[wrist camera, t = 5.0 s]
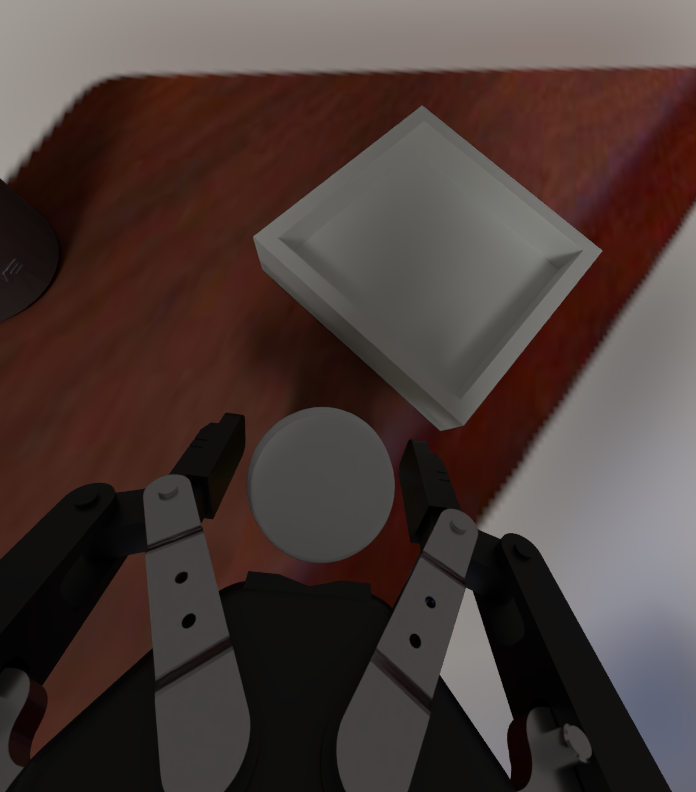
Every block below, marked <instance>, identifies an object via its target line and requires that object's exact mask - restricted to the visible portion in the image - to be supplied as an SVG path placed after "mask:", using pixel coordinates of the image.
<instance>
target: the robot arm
mask: <svg viewBox="0 0 696 792" xmlns="http://www.w3.org/2000/svg"><path fill="white" fill-rule="evenodd" d="M58 259H59V246H58V242H57V238H56V235H55V232H54V231H53V229H52V228H51V226H50V224H49V223H48V221H47V220H46V219H45V218H43V217H42V216H41V215H40V214H39V213H38V212H37V211H36V210H35V209H34V208H33V207H31V206H30V205H29V204H28V203H27V202H26V201H25V200H24V199H23V198H21V197H20V196H19V195H18V194H17V193H16V192H15V191H14V190H13V189H11V188H10V187H9V186H8V185H7V184H6V183H5V182H4V181H2V180H1V179H0V321H3V320H6V319H8V318H10V317H12V316H13V315H15V314H17V313H19V312H20V311H22V310H24V309H25V308H26V307H28V306H29V305H30V304H31V303H32V302H34V301H35V300H36V299H37V298H38V297H39V296H40V295H41V294H42V292H43V291H44V290H45V289H46V288H47V286H48V285H49V283H50V281H51V279H52V277H53V275H54V274H55V271H56V267H57V263H58ZM244 449H245V417H244V415H239V414H232V413H225V414H224V416H223V417H222V419H221V420H220V422H219V423H210V424H208V425H207V426H205V427H204V428H202V429H201V430H200V431H199V433H198V434H197V436H196V437H195V440H193V441H192V443H191V444H190V447H188V448H187V450H186V451H185V453H184V454H183V455H182V457H181V458H180V460H179V461H178V462H177V464H176V465H175V467H174V468H173V470H172V471H171V472H170V474H169V475H167V476H163V477H161V478H158V479H156V480H155V481H153V482H152V483H151V484H150V485H149V486H148V487H147V488H145V489H141V490H134V491H126V492H119V493H115V490H114V488H113V487H112V486H111V485H109V484H106V483H92V484H88V485H84V486H82V487H79V488H77V489H75V490H73V491H72V492H70V493H69V494H67V495H66V496H65V497H64V498H63V499H62V500H61V501H60V502H59V503H58V504H57V505H56V506H55V507H54V508H53V509H52V510H51V511H49V512H48V513H47V514H46V515H45V516H44V517H43V518H42V519H41V520H40V521H39V522H38V523H37V524H36V525H35V526H34V527H33V528H32V529H31V530H30V531H29V532H28V533H27V534H26V535H25V536H24V537H23V538H22V539H21V540H20V541H19V542H18V543H17V544H16V545H15V546H14V547H13V548H12V549H11V550H10V551H9V552H8V553H7V554H6V555H5V556H4V557H3V558H2V559H0V792H672V791H671V790H670V788H669V786H668V784H667V782H666V780H665V779H664V777H663V775H662V774H661V771H660V770H659V768H658V766H657V764H656V762H655V761H654V759H653V757H652V755H651V753H650V752H649V750H648V748H647V746H646V744H645V742H644V741H643V739H642V737H641V735H640V733H639V732H638V730H637V728H636V726H635V724H634V722H633V720H632V719H631V717H630V715H629V713H628V711H627V710H626V708H625V706H624V704H623V702H622V701H621V699H620V697H619V695H618V694H617V692H616V690H615V688H614V686H613V684H612V682H611V681H610V679H609V677H608V675H607V673H606V672H605V670H604V668H603V666H602V664H601V662H600V661H599V659H598V657H597V655H596V653H595V652H594V650H593V648H592V646H591V644H590V642H589V641H588V639H587V637H586V635H585V633H584V632H583V630H582V628H581V626H580V624H579V622H578V621H577V619H576V617H575V615H574V613H573V612H572V610H571V608H570V606H569V604H568V603H567V601H566V599H565V597H564V595H563V593H562V592H561V590H560V588H559V586H558V584H557V583H556V581H555V579H554V577H553V575H552V573H551V572H550V570H549V568H548V566H547V564H546V563H545V561H544V559H543V557H542V555H541V554H540V552H539V551H538V549H537V548H536V547H535V546H534V545H533V544H532V543H531V542H530V541H529V540H527V539H526V538H524V537H522V536H520V535H518V534H513V533H508V534H505V535H504V536H503V537H502V538H501V539H499V538H497V537H494V536H492V535H489V534H487V533H485V532H482V531H480V530H478V529H477V527H476V525H475V523H474V522H473V520H472V519H471V518H470V517H469V516H467V515H466V514H465V513H463V512H462V511H461V509H460V506H459V503H458V501H457V498H456V495H455V492H454V490H453V487H452V484H451V482H450V479H449V476H448V475H447V470H446V468H445V465H444V463H443V462H442V460H441V459H440V458H439V457H438V456H437V454H431V453H430V450H429V447H428V444H427V442H425V441H418V440H411V439H410V440H409V441H408V443H407V446H406V449H405V451H404V454H403V457H402V460H401V462H400V466H399V479H400V485H401V490H402V496H403V502H404V507H405V513H406V519H407V525H408V530H409V536H410V542H411V543H417V544H420V547H421V552H420V554H419V556H418V558H417V560H416V562H415V564H414V566H413V568H412V570H411V572H410V574H409V576H408V578H407V580H406V582H405V584H404V586H403V588H402V590H401V592H400V594H399V596H398V598H397V600H396V602H395V604H394V606H393V608H392V607H391V606H390V605H389V604H387V603H386V602H385V601H383V600H382V599H380V598H379V597H377V596H375V595H373V594H371V585H370V584H368V583H359V582H349V581H337V582H332V583H326V584H321V585H315V586H307V585H304V584H302V583H299V582H297V581H294V580H292V579H289V578H287V577H284V576H282V575H279V574H271V573H261V572H251V571H248V574H247V578H246V581H243V582H238V583H235V584H232V585H230V586H228V587H225V588H223V589H221V590H220V591H218V588H217V584H216V580H215V576H214V572H213V568H212V564H211V560H210V556H209V552H208V548H207V543H206V539H205V535H204V532H203V528H202V527H201V523H202V521H203V519H204V518H206V519H213V518H214V516H215V514H216V512H217V510H218V508H219V505H220V503H221V501H222V499H223V497H224V495H225V492H226V490H227V488H228V486H229V484H230V481H231V479H232V477H233V475H234V473H235V471H236V468H237V466H238V464H239V462H240V460H241V458H242V455H243V452H244ZM140 552H145V558H146V570H147V582H148V594H149V606H150V618H151V630H152V643H153V648H152V649H151V650H150V651H149V652H148V653H147V654H145V655H144V656H143V657H142V658H141V659H140V660H139V661H138V662H137V663H136V664H134V665H133V666H132V667H131V668H130V669H129V670H128V671H127V672H126V673H124V674H123V675H122V676H121V677H120V678H119V679H118V680H117V681H116V682H114V683H113V684H112V685H111V686H110V687H109V688H108V689H107V690H106V691H104V692H103V693H102V694H101V695H100V696H99V697H98V698H97V699H96V700H95V701H93V702H92V703H91V704H90V705H89V706H88V707H87V708H86V709H85V710H83V711H82V712H81V713H80V714H79V715H78V716H77V717H76V718H75V719H73V720H72V721H71V722H70V723H69V724H68V725H67V726H66V727H65V728H63V729H62V730H61V731H60V732H59V733H58V734H57V735H56V736H55V737H54V738H52V739H51V740H50V741H49V742H48V743H47V744H46V745H45V746H44V747H43V748H42V749H41V750H40V751H39V752H38V753H37V754H36V755H35V756H34V757H33V758H32V759H31V760H30V749H31V745H32V741H33V738H34V735H35V733H36V731H37V729H38V727H39V725H40V723H41V721H42V719H43V717H44V714H45V711H46V707H47V701H48V697H47V692H46V690H45V688H44V687H43V686H42V685H43V684H44V682H45V681H46V679H47V678H48V676H49V675H50V673H51V672H52V670H53V669H54V667H55V666H56V664H57V663H58V661H59V660H60V658H61V656H62V655H63V653H64V652H65V650H66V649H67V647H68V646H69V644H70V643H71V641H72V640H73V638H74V637H75V635H76V634H77V632H78V631H79V629H80V628H81V626H82V625H83V623H84V622H85V620H86V619H87V617H88V616H89V614H90V612H91V611H92V609H93V608H94V606H95V605H96V603H97V602H98V600H99V599H100V597H101V596H102V594H103V593H104V591H105V590H106V588H107V587H108V585H109V584H110V582H111V581H112V579H113V578H114V576H115V575H116V573H117V571H118V570H119V568H120V567H121V565H122V564H123V562H124V561H125V559H126V558H127V556H128V555H130V554H135V553H140ZM466 588H468V589H470V590H472V591H473V593H474V596H475V599H476V602H477V605H478V609H479V612H480V615H481V618H482V621H483V625H484V628H485V631H486V634H487V637H488V640H489V644H490V646H491V650H492V653H493V656H494V659H495V662H496V665H497V669H498V672H499V675H500V678H501V681H502V684H503V688H504V691H505V694H506V697H507V700H508V704H509V707H510V710H511V713H512V716H513V719H514V720H513V721H512V722H511V723H510V725H509V729H508V733H507V743H508V750H509V758H510V763H511V778H510V779H509V777H508V775H507V773H506V772H505V770H504V769H503V768H502V766H501V764H500V763H499V762H498V760H497V759H496V757H495V756H494V754H493V753H492V751H491V750H490V748H489V747H488V745H487V744H486V742H485V741H484V739H483V738H482V736H481V735H480V733H479V732H478V731H477V729H476V728H475V726H474V725H473V723H472V722H471V720H470V719H469V717H468V716H467V714H466V713H465V711H464V710H463V708H462V707H461V706H460V704H459V702H458V701H457V700H456V698H455V697H454V695H453V694H452V692H451V691H450V689H449V688H448V686H447V685H446V683H445V682H444V680H443V679H442V677H441V676H440V671H441V668H442V665H443V661H444V658H445V654H446V651H447V648H448V644H449V641H450V638H451V635H452V632H453V628H454V625H455V622H456V618H457V615H458V612H459V609H460V605H461V602H462V599H463V595H464V592H465V589H466Z"/></svg>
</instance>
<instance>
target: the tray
mask: <svg viewBox="0 0 696 792" xmlns="http://www.w3.org/2000/svg"><path fill="white" fill-rule="evenodd" d="M253 238H254V242H255V245H256V249H257V252H258V256H259V259H260V263H261V267H262V270H263V271H264V272H265V273H267V274H268V275H269V276H270V277H271V278H272V279H273V280H274V281H275V282H276V283H278V284H279V285H280V286H281V287H282V288H283V289H284V290H285V291H286V292H288V293H289V294H290V295H291V296H292V297H293V298H294V299H295V300H296V301H297V302H299V303H300V304H301V305H302V306H303V307H304V308H305V309H306V310H307V311H309V312H310V313H311V314H312V315H313V316H314V317H315V318H316V319H317V320H318V321H320V322H321V323H322V324H323V325H324V326H325V327H326V328H327V329H328V330H330V331H331V332H332V333H333V334H334V335H335V336H336V337H337V338H338V339H339V340H341V341H342V342H343V343H344V344H345V345H346V346H347V347H348V348H349V349H351V350H352V351H353V352H354V353H355V354H356V355H357V356H358V357H359V358H360V359H362V360H363V361H364V362H365V363H366V364H367V365H368V366H369V367H370V368H372V369H373V370H374V371H375V372H376V373H377V374H378V375H379V376H380V377H381V378H383V379H384V380H385V381H386V382H387V383H388V384H389V385H390V386H391V387H393V388H394V389H395V390H396V391H397V392H398V393H399V394H400V395H401V396H402V397H404V398H405V399H406V400H407V401H408V402H409V403H410V404H411V405H412V406H414V407H415V408H416V409H417V410H418V411H419V412H420V413H421V414H422V415H423V416H425V417H426V418H427V419H428V420H429V421H430V422H431V423H432V424H433V425H435V426H436V427H437V428H438V429H439V430H440V431H442V430H447V429H451V428H455V427H459V426H464V424H465V423H466V422H467V421H468V419H469V418H470V417H471V416H472V414H473V413H474V412H475V411H476V409H477V408H478V407H479V406H480V404H481V403H482V402H483V401H484V399H485V398H486V397H487V395H488V394H489V393H490V392H491V390H492V389H493V388H494V387H495V385H496V384H497V383H498V382H499V380H500V379H501V378H502V377H503V375H504V374H505V373H506V372H507V370H508V369H509V368H510V367H511V365H512V364H513V363H514V361H515V360H516V359H517V358H518V356H519V355H520V354H521V353H522V351H523V350H524V349H525V348H526V346H527V345H528V344H529V343H530V341H531V340H532V339H533V338H534V336H535V335H536V334H537V333H538V331H539V330H540V329H541V328H542V326H543V325H544V324H545V322H546V321H547V320H548V319H549V317H550V316H551V315H552V314H553V312H554V311H555V310H556V309H557V307H558V306H559V305H560V304H561V302H562V301H563V300H564V299H565V297H566V296H567V295H568V294H569V292H570V291H571V290H572V289H573V287H574V286H575V285H576V283H577V282H578V281H579V280H580V278H581V277H582V276H583V275H584V273H585V272H586V271H587V270H588V268H589V267H590V266H591V265H592V263H593V262H594V261H595V260H596V258H597V257H598V256H599V255H600V253H601V252H602V250H601V249H599V248H598V247H597V246H596V245H595V244H593V243H592V242H591V241H590V240H588V239H587V238H586V237H585V236H583V235H582V234H581V233H580V232H578V231H577V230H576V229H575V228H573V227H572V226H571V225H570V224H568V223H567V222H566V221H565V220H564V219H562V218H561V217H560V216H559V215H557V214H556V213H555V212H554V211H552V210H551V209H550V208H549V207H547V206H546V205H545V204H544V203H542V202H541V201H540V200H539V199H538V198H536V197H535V196H534V195H533V194H531V193H530V192H529V191H528V190H526V189H525V188H524V187H523V186H521V185H520V184H519V183H518V182H516V181H515V180H514V179H513V178H512V177H510V176H509V175H508V174H507V173H505V172H504V171H503V170H502V169H500V168H499V167H498V166H497V165H495V164H494V163H493V162H492V161H490V160H489V159H488V158H487V157H486V156H484V155H483V154H482V153H481V152H479V151H478V150H477V149H476V148H474V147H473V146H472V145H471V144H469V143H468V142H467V141H466V140H464V139H463V138H462V137H461V136H459V135H458V134H457V133H456V132H455V131H453V130H452V129H451V128H450V127H448V126H447V125H446V124H445V123H443V122H442V121H441V120H440V119H438V118H437V117H436V116H435V115H433V114H432V113H431V112H430V111H429V110H427V109H426V108H425V107H424V106H421V107H420V108H418V109H417V110H416V111H414V112H413V113H412V114H411V115H409V116H408V117H407V118H405V119H404V120H403V121H402V122H400V123H399V124H398V125H396V126H395V127H394V128H393V129H391V130H390V131H389V132H387V133H386V134H385V135H384V136H382V137H381V138H380V139H378V140H377V141H376V142H375V143H373V144H372V145H371V146H369V147H368V148H367V149H366V150H364V151H363V152H362V153H360V154H359V155H358V156H357V157H355V158H354V159H353V160H351V161H350V162H349V163H347V164H346V165H345V166H344V167H342V168H341V169H340V170H338V171H337V172H336V173H335V174H333V175H332V176H331V177H329V178H328V179H327V180H326V181H324V182H323V183H322V184H320V185H319V186H318V187H317V188H315V189H314V190H313V191H311V192H310V193H309V194H308V195H306V196H305V197H304V198H302V199H301V200H300V201H299V202H297V203H296V204H295V205H293V206H292V207H291V208H290V209H288V210H287V211H286V212H284V213H283V214H282V215H281V216H279V217H278V218H277V219H275V220H274V221H273V222H271V223H270V224H269V225H268V226H266V227H265V228H264V229H262V230H261V231H260V232H259V233H257V234H256V235H255V236H253Z"/></svg>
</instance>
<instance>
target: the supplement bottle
mask: <svg viewBox="0 0 696 792" xmlns="http://www.w3.org/2000/svg"><path fill="white" fill-rule="evenodd" d="M394 490H395V483H394V474H393V468H392V465H391V461H390V458H389V455H388V452H387V450H386V448H385V446H384V444H383V442H382V440H381V439H380V437H379V436H378V435H377V433H376V432H375V431H374V430H373V429H372V428H371V427H370V426H369V425H368V424H367V423H366V422H364V421H363V420H362V419H360V418H359V417H357V416H355V415H354V414H352V413H349V412H347V411H344V410H341V409H336V408H330V407H314V408H308V409H304V410H301V411H298V412H296V413H293V414H291V415H289V416H287V417H285V418H283V419H282V420H280V421H279V422H278V423H276V424H275V425H274V426H273V427H272V428H271V429H270V430H269V431H268V432H267V433H266V434H265V435H264V437H263V438H262V439H261V441H260V442H259V444H258V445H257V447H256V449H255V451H254V453H253V456H252V459H251V462H250V465H249V470H248V475H247V495H248V501H249V506H250V509H251V511H252V514H253V516H254V518H255V520H256V522H257V524H258V526H259V527H260V529H261V530H262V531H263V533H264V534H265V536H266V537H267V538H268V539H269V540H270V542H271V543H272V544H274V545H275V546H276V547H277V548H278V549H279V550H281V551H282V552H284V553H286V554H287V555H289V556H291V557H293V558H296V559H298V560H303V561H306V562H312V563H329V562H335V561H339V560H343V559H345V558H348V557H350V556H352V555H354V554H356V553H358V552H359V551H361V550H362V549H363V548H365V547H366V546H367V545H368V544H370V543H371V542H372V541H373V540H374V538H375V537H376V536H377V535H378V534H379V532H380V531H381V529H382V528H383V526H384V525H385V523H386V521H387V519H388V516H389V514H390V511H391V508H392V504H393V499H394Z"/></svg>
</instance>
